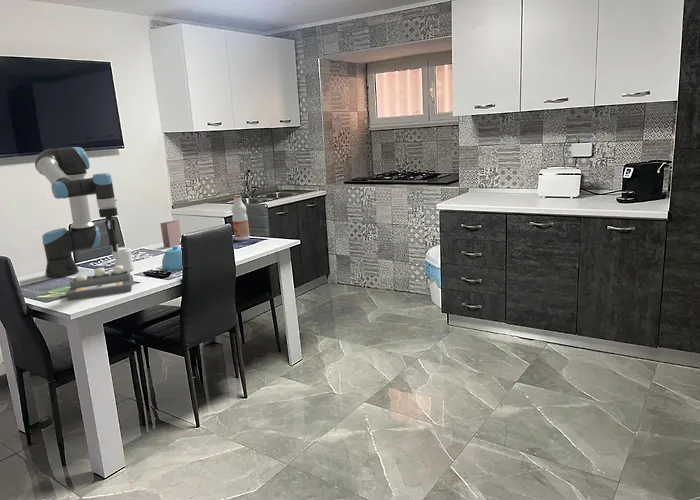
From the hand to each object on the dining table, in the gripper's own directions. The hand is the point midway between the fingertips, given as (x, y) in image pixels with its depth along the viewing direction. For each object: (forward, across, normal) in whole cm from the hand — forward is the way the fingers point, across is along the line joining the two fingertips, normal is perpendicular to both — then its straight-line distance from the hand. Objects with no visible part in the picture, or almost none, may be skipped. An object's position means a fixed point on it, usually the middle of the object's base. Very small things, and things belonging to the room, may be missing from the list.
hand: (116, 257), depth 245 cm
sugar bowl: (+14, +22, -26) cm, 36 cm away
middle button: (+7, 0, +8) cm, 11 cm away
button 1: (+10, 0, +16) cm, 19 cm away
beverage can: (+14, +30, 0) cm, 33 cm away
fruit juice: (+13, +74, -66) cm, 100 cm away
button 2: (+7, 0, 0) cm, 7 cm away
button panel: (+14, -2, +8) cm, 16 cm away
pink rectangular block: (+13, +80, -25) cm, 85 cm away
